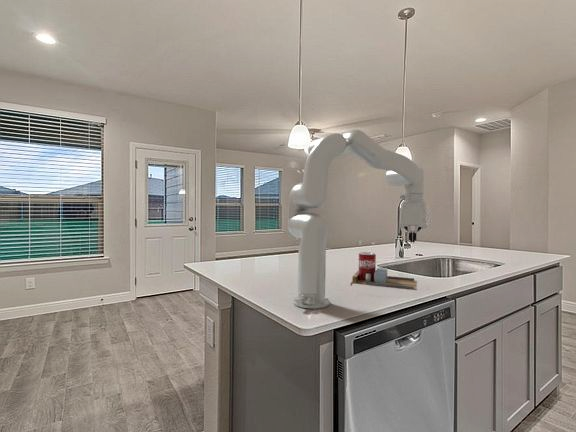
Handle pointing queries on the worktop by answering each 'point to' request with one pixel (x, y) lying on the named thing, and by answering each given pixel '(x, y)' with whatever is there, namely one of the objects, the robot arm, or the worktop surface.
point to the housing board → (388, 282)
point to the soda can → (366, 265)
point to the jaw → (380, 275)
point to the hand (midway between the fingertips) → (412, 242)
